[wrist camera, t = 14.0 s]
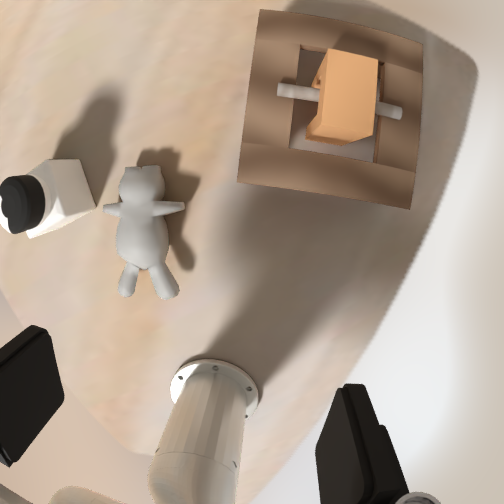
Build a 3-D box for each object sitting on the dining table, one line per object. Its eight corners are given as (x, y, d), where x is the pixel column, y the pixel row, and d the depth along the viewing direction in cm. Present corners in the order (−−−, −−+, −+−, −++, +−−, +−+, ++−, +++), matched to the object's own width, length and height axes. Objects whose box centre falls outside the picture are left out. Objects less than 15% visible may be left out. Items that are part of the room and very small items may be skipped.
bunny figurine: (176, 161, 31) (178, 305, 33) (189, 167, 36) (190, 293, 38) (97, 168, 31) (102, 300, 33) (117, 172, 36) (121, 290, 38)
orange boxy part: (341, 145, 32) (372, 134, 21) (305, 139, 32) (321, 124, 21) (347, 91, 30) (378, 59, 20) (311, 84, 30) (328, 48, 20)
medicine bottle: (80, 157, 35) (18, 158, 23) (97, 208, 36) (38, 225, 25) (44, 181, 36) (-17, 190, 24) (60, 228, 37) (1, 250, 26)
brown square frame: (382, 201, 34) (415, 211, 25) (244, 179, 35) (235, 182, 26) (395, 65, 30) (427, 40, 21) (262, 40, 30) (259, 3, 21)
